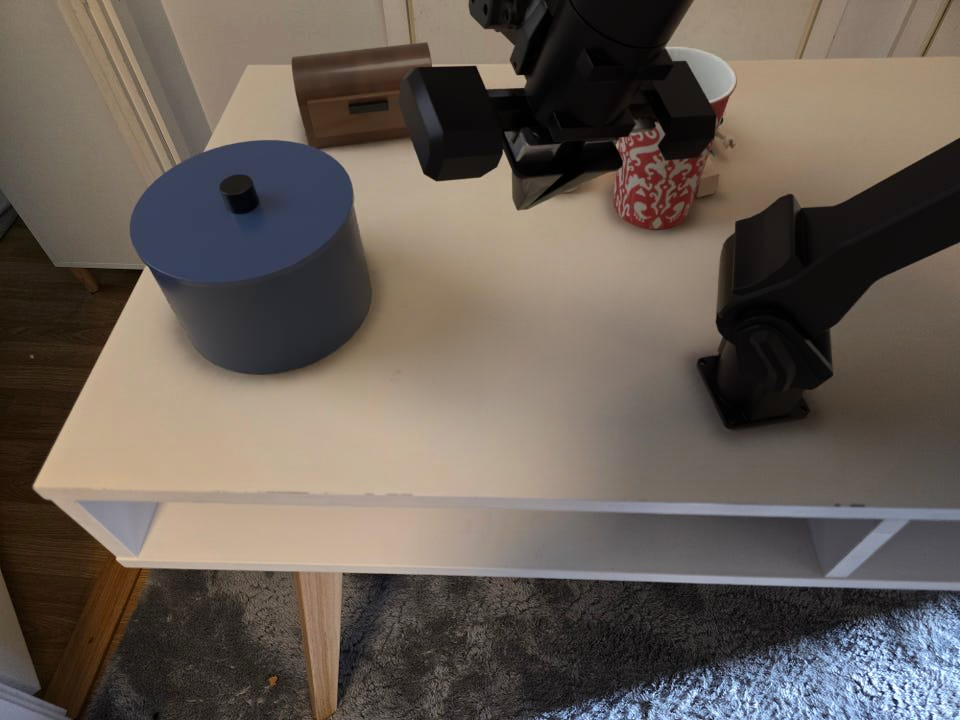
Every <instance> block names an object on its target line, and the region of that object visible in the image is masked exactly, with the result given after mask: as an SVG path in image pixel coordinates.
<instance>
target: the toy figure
mask: <svg viewBox="0 0 960 720" xmlns="http://www.w3.org/2000/svg"><path fill="white" fill-rule="evenodd" d="M724 113H725V114H724V115H726V110H725V111H724ZM723 123H724V116H723V117H722V119H721V122H720V125H719V128H718V131H717V134H716V136H715V138H717V139H719V140H721V141H722V146H723V148H724V149H725V150H728V148H730V149H731V150H732V149H734V147H735V146H736V145H737V141H736V139H735V137H734V136H732V135H727V133H725V132H724V131H723V130H722V129H721V128H720V126H721V125H722V124H723ZM710 154H711V155H712V156H713V157H715V158H717V155H716V153H715V151H714V150H713V149H712V148H711V150H710V153H709V155H708V158H707V161H706V164H705V167H704V169H703V172H702V175H701V178H700V180H699V183H698V186H697V189H696V192H695V197H697V198H701V197H704V196H705V197H706V196H708V195H712V194H715V193H717V190H718V185H719V180H720V173H719V172H718V170H717V169H716V167H715V165H714V163H713V160H712V159H711V157H710Z"/></svg>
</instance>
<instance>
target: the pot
mask: <svg viewBox="0 0 960 720" xmlns="http://www.w3.org/2000/svg"><path fill="white" fill-rule="evenodd" d="M360 231H361V230H360V227H359V222H358V217H357V212H356V208H355V192H354V187H353V183H352V180H351V177H350V175H349V174H348V172H347V170H346V168H345V167H344V166H343V165H342V164H341V163H340V161H338V160H337V159H335V158H334V157H333V156H332V155H330V154H329V153H327V152H326V151H323V150H321V149H320V148H314V147H312V146H309V145H308V144H304V143H301V142H296V141H290V140H280V139H259V140H258V139H257V140H247V141H240V142H234V143H230V144H225V145H221V146H218V147H214V148H211V149H208V150H205V151H203V152H200V153H198V154H195V155H193V156H190V157H189V158H186V159H184V160H183V161H181V162H179V163H178V164H176V165H174V166H173V167H171V168H170V169H168V170H167V171H165V172H164V173H162V174H161V175H160V176H159V177H157V178H156V179H155V180H154V181H153V182H152V183H151V184H150V185H149V186H148V187H147V188H146V189H145V190H144V192H143V193H142V194H141V196H140V197H139V198H138V200H137V202H136V203H135V206H134V207H133V210H132V213H131V216H130V219H129V237H130V241H131V245H132V247H133V248H134V250H135V252H136V254H137V256H138V258H139V259H140V260H141V262H143V264H144V265H145V267H147V268H148V269H149V271H150V273H151V275H152V277H153V278H154V281H156V283H157V285H158V287H159V288H160V290H161V292H162V294H163V295H164V298H165V299H166V302H167V303H168V304H169V307H170V308H171V310H172V312H173V313H174V315H175V317H176V319H177V320H178V323H179V324H180V326H181V327H182V329H183V331H184V333H185V334H186V336H187V338H188V340H189V342H190V344H191V346H192V347H193V348H194V349H195V350H196V351H197V353H198V354H200V355H201V356H202V357H203V358H204V359H205V360H207V361H208V362H210V363H212V364H213V365H215V366H218V367H220V368H222V369H225V370H227V371H231V372H235V373H240V374H248V375H270V374H280V373H284V372H290V371H293V370H298V369H301V368H304V367H306V366H308V365H309V366H310V365H312V364H313V363H316V362H318V361H320V360H322V359H324V358H326V357H328V356H329V355H331V354H333V353H334V352H335V351H337V350H338V349H339V348H340V347H342V346H343V345H345V344H346V343H347V342H348V341H349V340H350V339H351V338H352V337H353V336H354V335H355V334H356V332H357V331H358V330H359V329H360V327H361V325H362V324H363V323H364V321H365V319H366V317H367V315H368V312H369V309H370V307H371V303H372V302H371V301H372V295H373V294H372V291H373V290H372V283H371V278H370V277H371V276H370V273H369V272H370V271H369V268H368V263H367V259H366V254H365V250H364V249H365V248H364V246H363V241H362V240H363V239H362V236H361V235H362V234H361V232H360Z"/></svg>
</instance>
